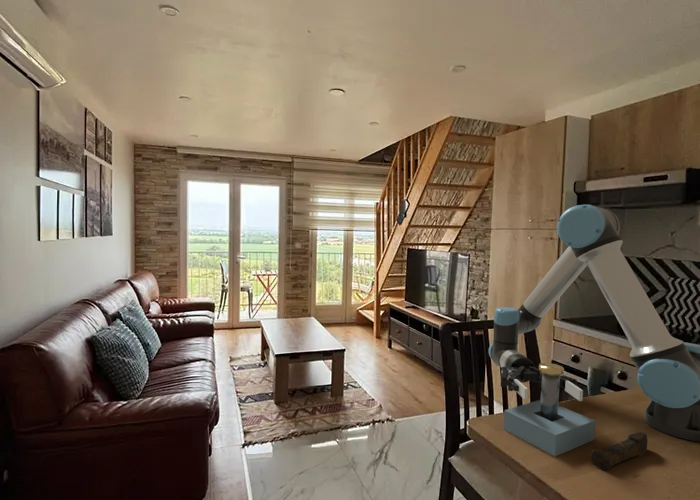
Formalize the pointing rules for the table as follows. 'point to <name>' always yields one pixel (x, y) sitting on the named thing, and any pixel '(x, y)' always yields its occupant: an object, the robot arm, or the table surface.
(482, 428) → the table surface
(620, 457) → the dark brown wooden club
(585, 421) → the socket block
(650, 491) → the table surface
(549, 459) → the table surface
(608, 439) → the table surface
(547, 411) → the pin
